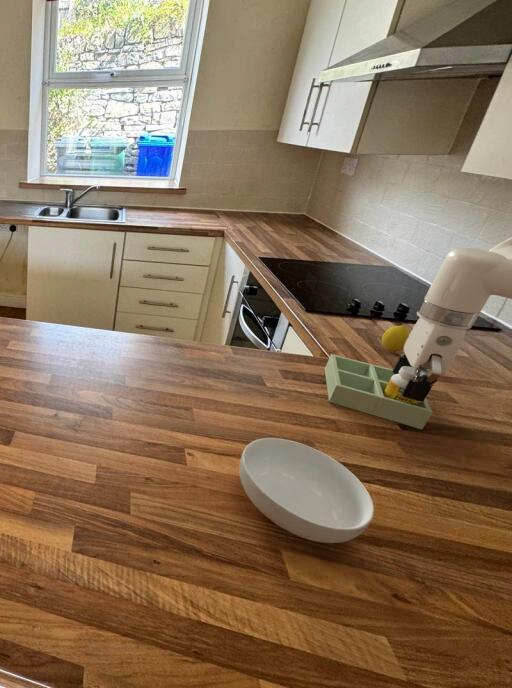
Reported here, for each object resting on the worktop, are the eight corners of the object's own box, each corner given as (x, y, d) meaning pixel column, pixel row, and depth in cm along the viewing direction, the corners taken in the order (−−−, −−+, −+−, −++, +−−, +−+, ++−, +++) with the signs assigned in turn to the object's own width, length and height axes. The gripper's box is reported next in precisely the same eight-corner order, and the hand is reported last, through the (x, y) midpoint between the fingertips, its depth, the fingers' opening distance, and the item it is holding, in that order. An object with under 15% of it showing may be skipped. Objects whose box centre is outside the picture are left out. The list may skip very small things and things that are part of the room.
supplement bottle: (403, 404, 88) (424, 367, 84) (416, 419, 83) (438, 381, 79) (373, 397, 90) (392, 361, 85) (384, 412, 85) (404, 375, 81)
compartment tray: (405, 391, 93) (414, 374, 91) (422, 429, 82) (432, 412, 80) (324, 369, 101) (331, 353, 99) (328, 401, 89) (336, 385, 87)
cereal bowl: (213, 464, 72) (223, 435, 69) (306, 468, 72) (321, 438, 69) (267, 558, 57) (283, 525, 54) (385, 563, 57) (408, 530, 54)
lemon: (386, 355, 107) (399, 329, 104) (372, 345, 112) (384, 320, 109) (409, 358, 107) (423, 331, 103) (394, 347, 111) (407, 322, 108)
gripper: (492, 337, 68) (443, 416, 75) (459, 302, 81) (420, 372, 89) (432, 325, 72) (390, 401, 79) (410, 293, 85) (376, 361, 92)
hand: (406, 386), depth 84 cm, fingers open, 9 cm apart
